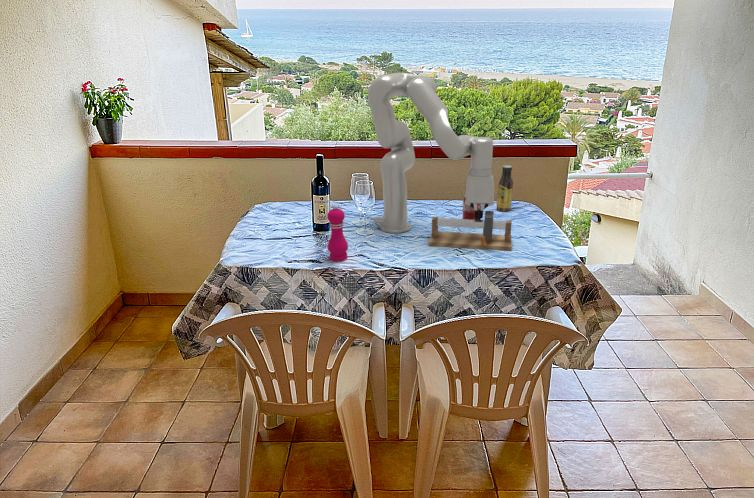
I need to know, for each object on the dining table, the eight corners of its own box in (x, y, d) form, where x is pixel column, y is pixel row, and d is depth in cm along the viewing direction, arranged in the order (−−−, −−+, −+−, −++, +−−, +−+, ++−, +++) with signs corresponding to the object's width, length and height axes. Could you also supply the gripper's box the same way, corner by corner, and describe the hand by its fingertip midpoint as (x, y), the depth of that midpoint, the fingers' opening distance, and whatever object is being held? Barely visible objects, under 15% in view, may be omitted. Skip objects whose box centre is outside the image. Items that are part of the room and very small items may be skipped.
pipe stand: (428, 245, 194) (428, 223, 190) (432, 234, 205) (433, 212, 201) (511, 250, 187) (513, 227, 184) (511, 239, 198) (512, 216, 195)
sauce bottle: (493, 208, 233) (496, 165, 226) (506, 207, 235) (509, 163, 227) (501, 212, 227) (504, 168, 220) (513, 211, 229) (517, 166, 222)
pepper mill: (348, 254, 189) (346, 201, 181) (348, 261, 182) (345, 207, 174) (328, 254, 188) (325, 202, 181) (327, 262, 182) (324, 208, 174)
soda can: (479, 227, 211) (481, 198, 207) (461, 226, 213) (462, 198, 208) (480, 221, 218) (481, 193, 213) (462, 220, 219) (463, 193, 215)
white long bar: (437, 226, 195) (437, 220, 194) (437, 223, 197) (438, 217, 196) (505, 229, 190) (505, 223, 189) (505, 227, 192) (505, 221, 191)
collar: (483, 238, 190) (484, 217, 187) (484, 230, 197) (485, 210, 194) (491, 238, 189) (493, 217, 186) (492, 231, 197) (493, 211, 193)
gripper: (459, 173, 186) (457, 222, 193) (501, 175, 183) (498, 224, 190) (460, 169, 193) (459, 215, 200) (502, 170, 190) (499, 217, 197)
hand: (478, 219), depth 195 cm, fingers closed
